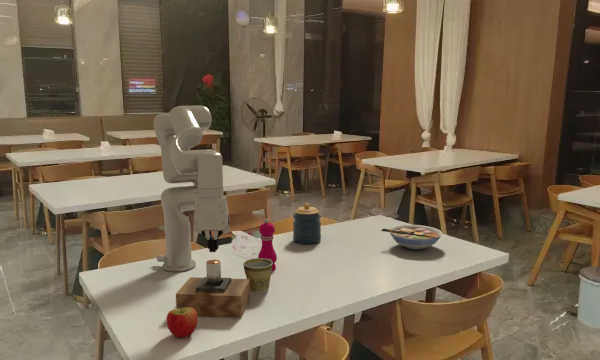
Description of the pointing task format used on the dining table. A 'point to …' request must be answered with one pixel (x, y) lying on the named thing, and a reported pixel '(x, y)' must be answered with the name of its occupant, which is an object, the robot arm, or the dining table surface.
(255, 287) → the ceramic cup
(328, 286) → the dining table surface
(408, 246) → the ramen bowl
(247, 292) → the socket block
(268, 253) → the pepper mill
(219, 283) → the peg
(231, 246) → the dining table surface
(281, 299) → the dining table surface
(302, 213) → the canister
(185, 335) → the apple
